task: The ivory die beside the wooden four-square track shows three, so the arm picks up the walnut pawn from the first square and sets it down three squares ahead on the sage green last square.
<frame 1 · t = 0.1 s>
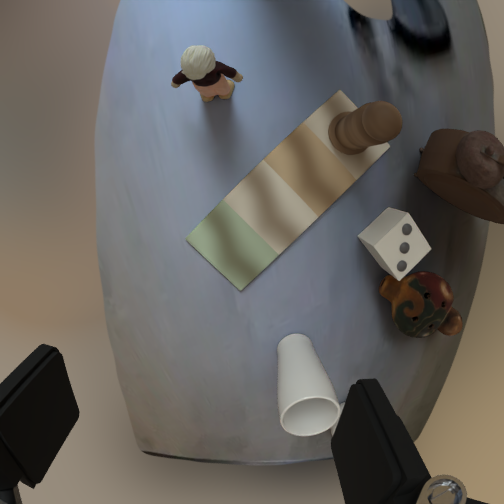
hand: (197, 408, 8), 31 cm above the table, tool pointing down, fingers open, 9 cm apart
drinking glass: (294, 346, 43), on the table
pawn: (349, 133, 35), resting on track board
grandmother figurine: (212, 91, 34), on the table
track board: (291, 188, 37), on the table
decorative turtle: (409, 294, 41), on the table
die: (384, 237, 39), on the table
alarm clock: (437, 173, 36), on the table
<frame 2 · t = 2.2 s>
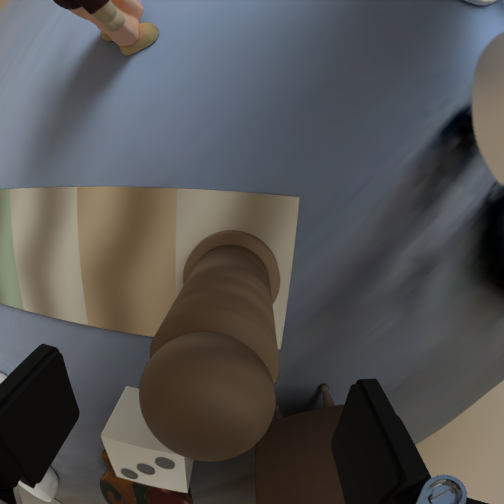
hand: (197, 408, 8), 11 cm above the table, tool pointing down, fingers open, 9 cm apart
pawn: (232, 276, 18), resting on track board
teacup: (44, 462, 28), on the table
grandmother figurine: (125, 29, 14), on the table
track board: (82, 259, 18), on the table
decorative turtle: (155, 469, 25), on the table
die: (163, 416, 22), on the table
alarm clock: (314, 420, 22), on the table
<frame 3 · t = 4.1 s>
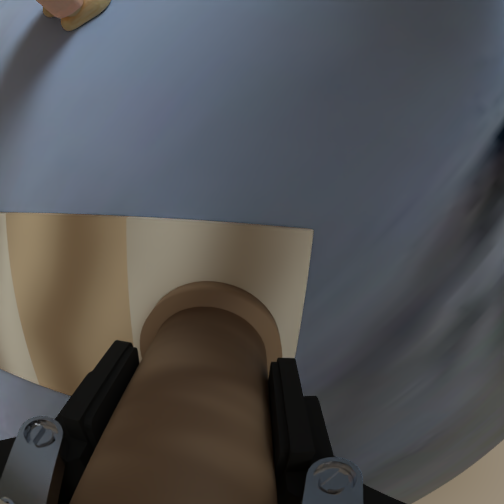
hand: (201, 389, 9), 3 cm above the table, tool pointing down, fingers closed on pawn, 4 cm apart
pawn: (211, 344, 12), resting on track board, touching gripper
grandmother figurine: (72, 0, 8), on the table
track board: (22, 307, 12), on the table
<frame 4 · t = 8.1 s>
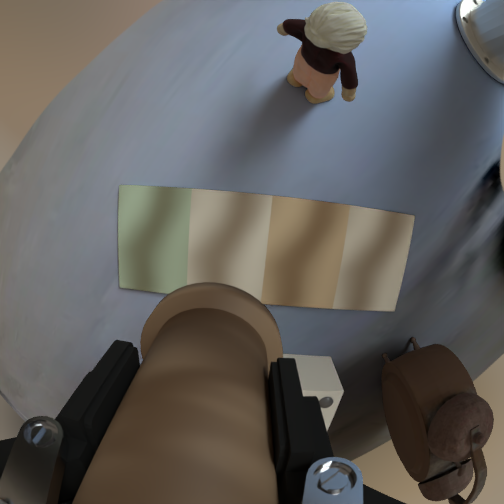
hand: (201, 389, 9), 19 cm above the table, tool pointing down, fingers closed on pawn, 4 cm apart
pawn: (212, 345, 12), point 16 cm above the table, touching gripper
grandmother figurine: (305, 80, 23), on the table
track board: (266, 250, 27), on the table
die: (297, 376, 31), on the table
alarm clock: (400, 368, 31), on the table
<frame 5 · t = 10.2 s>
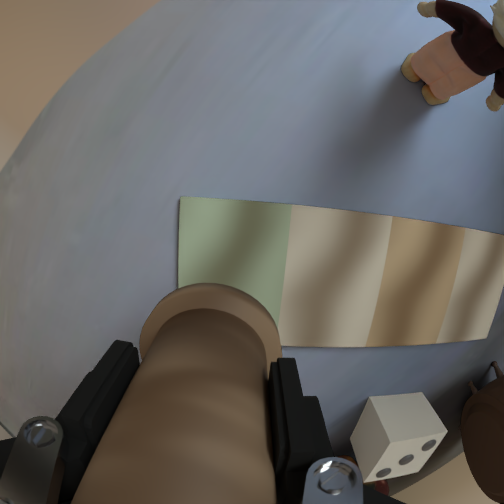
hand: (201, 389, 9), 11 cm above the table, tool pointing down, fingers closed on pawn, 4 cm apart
pawn: (211, 345, 12), point 9 cm above the table, touching gripper
grandmother figurine: (419, 75, 17), on the table
track board: (378, 284, 20), on the table
decorative turtle: (339, 473, 27), on the table
die: (385, 416, 24), on the table
alarm clock: (477, 392, 24), on the table
when the fingers open (5 cm above the table, at t = 12.1 s): pawn drops 1 cm, resting on track board.
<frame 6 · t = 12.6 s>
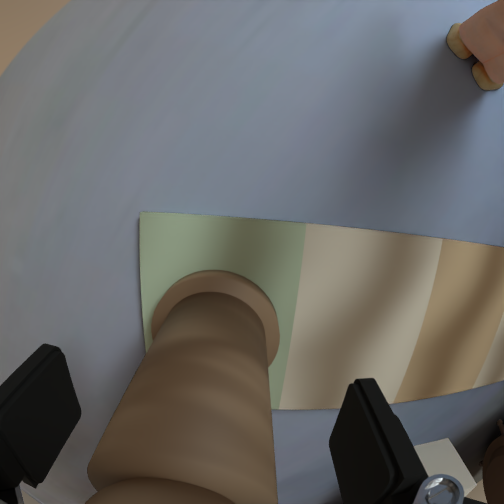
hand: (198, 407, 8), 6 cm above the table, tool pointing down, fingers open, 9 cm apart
pawn: (216, 328, 13), resting on track board
grandmother figurine: (467, 51, 10), on the table
track board: (416, 329, 14), on the table
die: (405, 465, 18), on the table
alarm clock: (502, 427, 18), on the table
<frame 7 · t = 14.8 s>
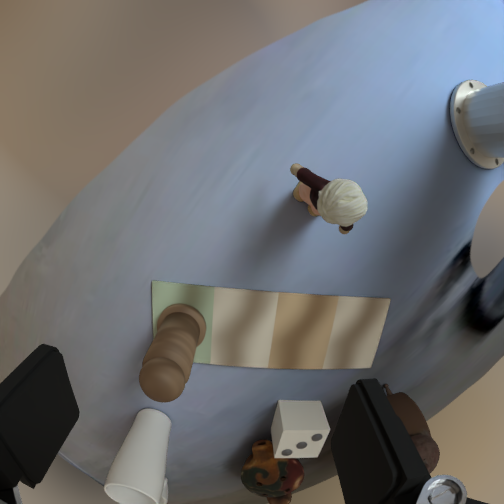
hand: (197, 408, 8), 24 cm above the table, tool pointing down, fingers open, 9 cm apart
drinking glass: (154, 418, 38), on the table
pawn: (182, 325, 33), resting on track board
teacup: (154, 474, 41), on the table
grandmother figurine: (308, 193, 31), on the table
track board: (272, 331, 34), on the table
decorative turtle: (270, 455, 40), on the table
die: (295, 415, 38), on the table
alarm clock: (376, 405, 39), on the table
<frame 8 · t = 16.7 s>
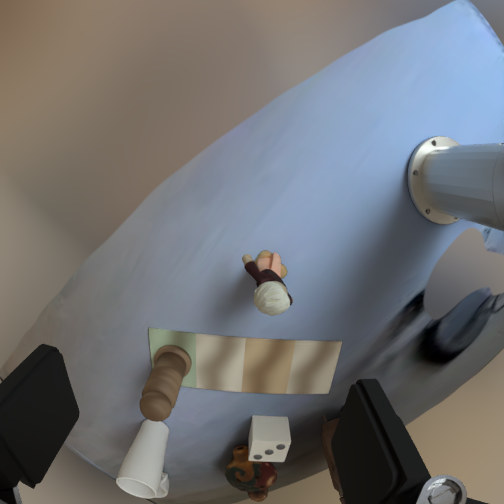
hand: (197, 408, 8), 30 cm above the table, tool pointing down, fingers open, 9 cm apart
drinking glass: (156, 426, 47), on the table
pawn: (173, 360, 42), resting on track board
teacup: (157, 470, 51), on the table
grandmother figurine: (267, 263, 39), on the table
track board: (243, 365, 42), on the table
decorative turtle: (250, 457, 49), on the table
die: (267, 427, 46), on the table
alarm clock: (338, 422, 46), on the table
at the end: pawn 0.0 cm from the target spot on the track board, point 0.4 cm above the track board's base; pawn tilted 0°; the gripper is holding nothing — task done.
